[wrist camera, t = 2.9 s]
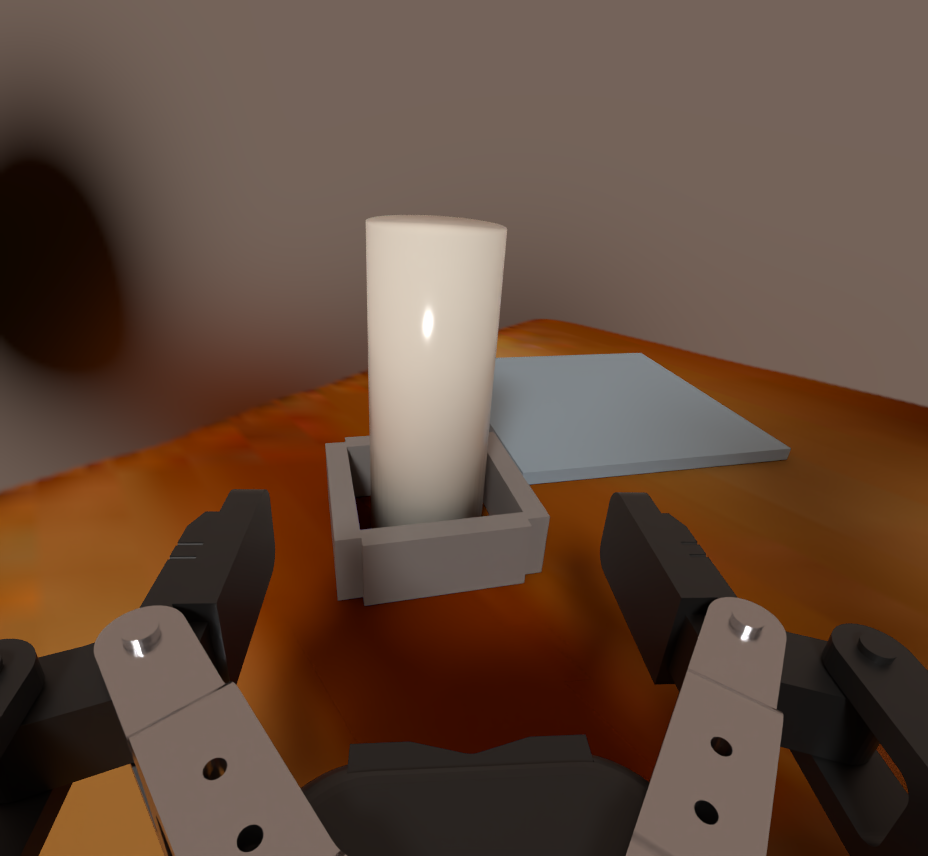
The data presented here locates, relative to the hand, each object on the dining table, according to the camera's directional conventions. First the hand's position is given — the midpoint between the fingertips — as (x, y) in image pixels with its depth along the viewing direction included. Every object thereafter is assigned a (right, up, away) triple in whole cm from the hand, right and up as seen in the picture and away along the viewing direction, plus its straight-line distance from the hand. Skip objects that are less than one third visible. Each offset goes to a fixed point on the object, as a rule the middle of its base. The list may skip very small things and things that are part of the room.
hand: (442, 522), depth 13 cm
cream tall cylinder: (-1, -3, +14) cm, 14 cm away
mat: (+10, +4, +28) cm, 30 cm away
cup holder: (-1, -3, +14) cm, 14 cm away
